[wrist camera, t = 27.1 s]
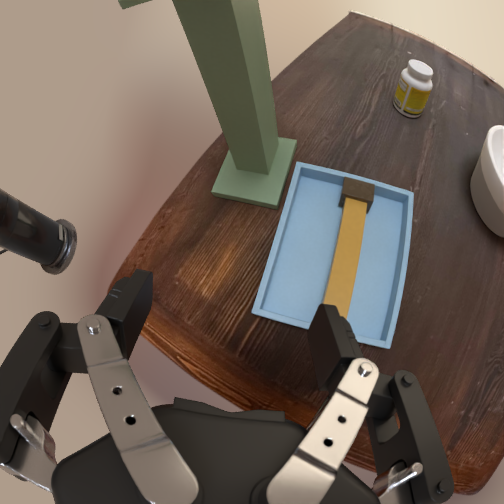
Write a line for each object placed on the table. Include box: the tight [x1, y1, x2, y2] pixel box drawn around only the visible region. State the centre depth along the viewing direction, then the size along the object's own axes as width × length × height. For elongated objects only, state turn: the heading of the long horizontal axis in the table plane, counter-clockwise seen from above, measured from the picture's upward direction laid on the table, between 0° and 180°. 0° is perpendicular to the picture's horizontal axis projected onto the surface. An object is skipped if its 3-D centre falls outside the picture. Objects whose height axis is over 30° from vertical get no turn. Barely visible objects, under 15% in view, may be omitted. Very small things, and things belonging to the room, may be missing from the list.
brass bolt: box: [322, 177, 375, 320], centre depth 32 cm, size 4×20×3 cm, turn 163°
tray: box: [251, 162, 414, 349], centre depth 34 cm, size 18×22×3 cm
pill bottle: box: [393, 60, 433, 118], centre depth 36 cm, size 6×6×11 cm
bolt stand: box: [118, 0, 297, 210], centre depth 26 cm, size 10×12×32 cm
